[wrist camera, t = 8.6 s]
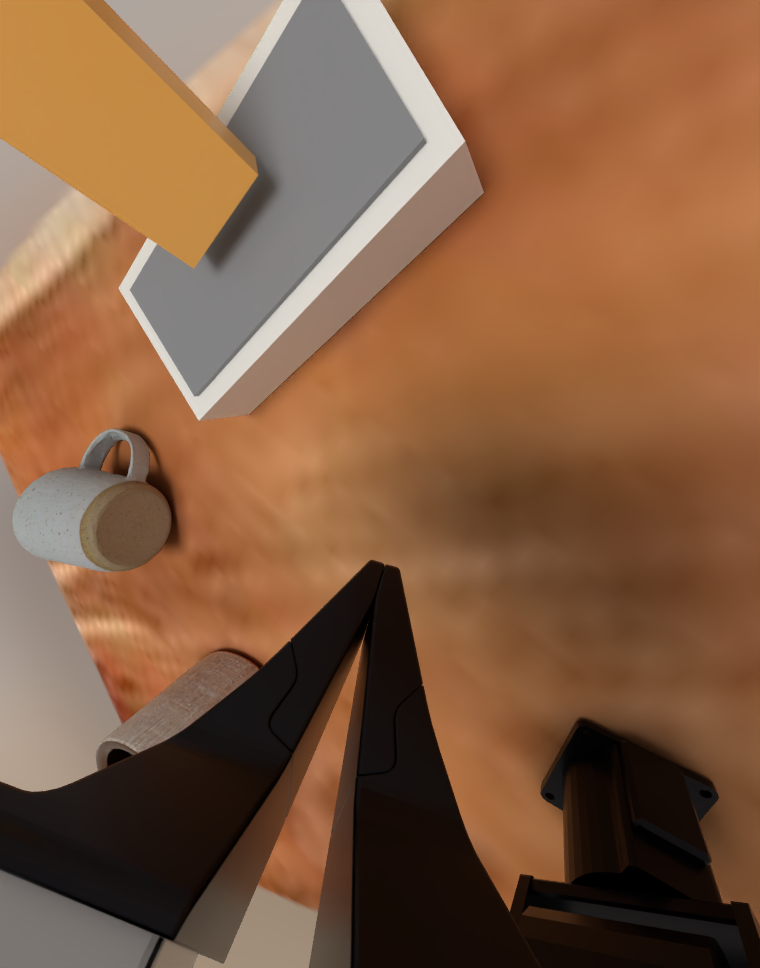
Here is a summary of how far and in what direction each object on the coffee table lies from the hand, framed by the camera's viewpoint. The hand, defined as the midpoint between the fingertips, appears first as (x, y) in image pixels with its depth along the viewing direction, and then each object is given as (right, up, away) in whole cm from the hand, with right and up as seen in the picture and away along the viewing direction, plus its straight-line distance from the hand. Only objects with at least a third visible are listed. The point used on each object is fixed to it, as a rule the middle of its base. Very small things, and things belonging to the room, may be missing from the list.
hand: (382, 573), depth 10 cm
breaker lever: (-6, +14, +6) cm, 17 cm away
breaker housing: (-5, +15, +10) cm, 19 cm away
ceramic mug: (-21, +2, +22) cm, 30 cm away
